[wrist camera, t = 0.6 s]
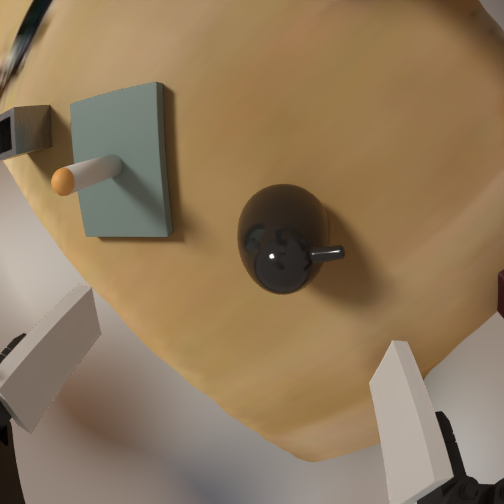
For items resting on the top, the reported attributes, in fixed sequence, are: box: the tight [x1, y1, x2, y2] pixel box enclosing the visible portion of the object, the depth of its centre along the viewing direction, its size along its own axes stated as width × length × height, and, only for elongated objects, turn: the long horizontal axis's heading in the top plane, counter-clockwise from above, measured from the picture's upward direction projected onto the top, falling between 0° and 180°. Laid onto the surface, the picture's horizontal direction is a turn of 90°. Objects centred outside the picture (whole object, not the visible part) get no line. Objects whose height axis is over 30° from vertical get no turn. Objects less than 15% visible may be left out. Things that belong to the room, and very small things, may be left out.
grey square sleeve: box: [0, 105, 52, 161], centre depth 31 cm, size 7×7×8 cm
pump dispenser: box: [237, 184, 345, 295], centre depth 30 cm, size 10×10×15 cm
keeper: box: [51, 82, 173, 237], centre depth 30 cm, size 20×14×14 cm
